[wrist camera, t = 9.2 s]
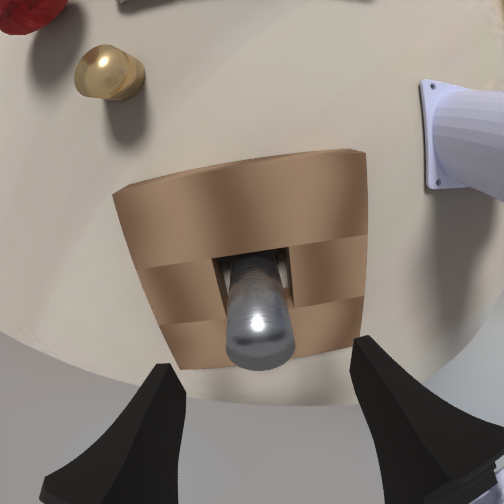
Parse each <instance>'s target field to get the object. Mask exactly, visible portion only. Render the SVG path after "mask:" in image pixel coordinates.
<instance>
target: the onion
mask: <svg viewBox="0 0 504 504" xmlns="http://www.w3.org/2000/svg"><path fill="white" fill-rule="evenodd" d="M67 2H68V0H0V30H1V31H2V32H4V33H6V34H9V35H26V34H29V33H32V32H34V31H37V30H39V29H41V28H43V27H44V26H46V25H47V24H49V23H50V22H51V21H52V20H54V19H55V18H56V17H57V16H58V15H59V14H60V12H61V11H62V10H63V9H64V8H65V6H66V4H67Z"/></svg>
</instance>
